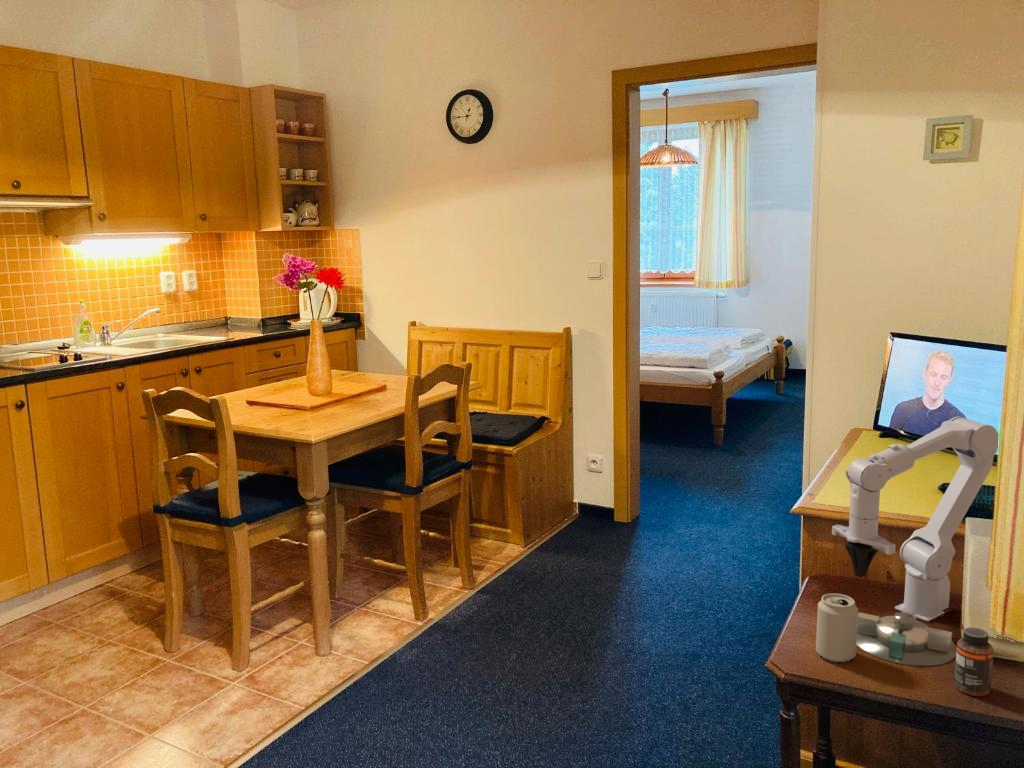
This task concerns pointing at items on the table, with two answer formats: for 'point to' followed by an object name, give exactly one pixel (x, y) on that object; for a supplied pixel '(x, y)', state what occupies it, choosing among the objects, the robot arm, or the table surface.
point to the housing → (909, 658)
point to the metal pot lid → (904, 634)
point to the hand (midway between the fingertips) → (860, 575)
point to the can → (836, 627)
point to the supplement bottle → (974, 663)
